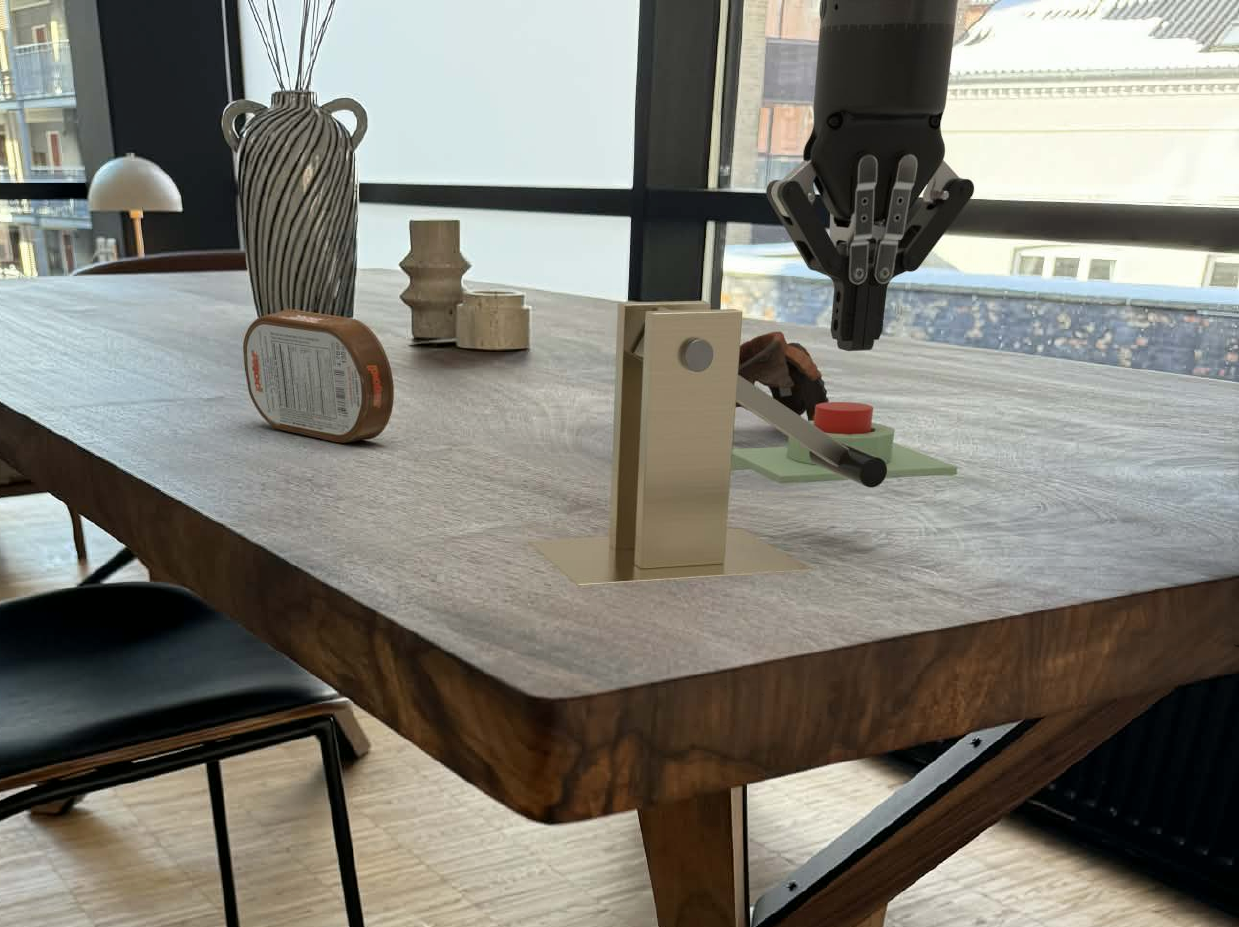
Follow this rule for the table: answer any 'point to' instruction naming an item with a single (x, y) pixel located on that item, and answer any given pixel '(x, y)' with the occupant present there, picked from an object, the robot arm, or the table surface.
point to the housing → (799, 468)
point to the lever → (806, 434)
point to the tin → (318, 375)
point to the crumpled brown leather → (783, 372)
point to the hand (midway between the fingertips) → (854, 348)
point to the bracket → (671, 456)
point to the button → (843, 417)
